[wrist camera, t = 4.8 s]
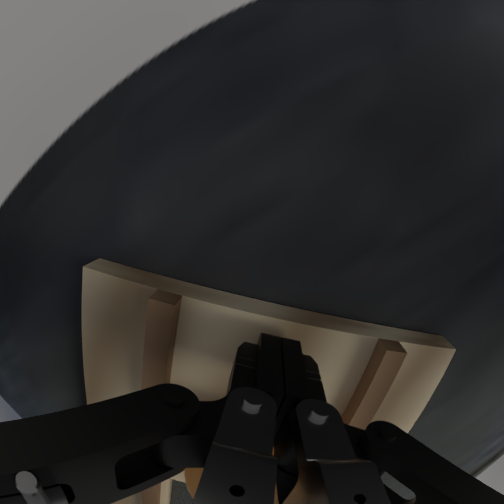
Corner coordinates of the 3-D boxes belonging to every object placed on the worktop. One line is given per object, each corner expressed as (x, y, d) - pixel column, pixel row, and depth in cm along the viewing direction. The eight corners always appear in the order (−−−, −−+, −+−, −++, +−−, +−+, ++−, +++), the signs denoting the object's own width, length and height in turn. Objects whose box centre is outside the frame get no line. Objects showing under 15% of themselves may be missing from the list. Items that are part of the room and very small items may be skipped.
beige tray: (442, 335, 13) (477, 370, 9) (304, 534, 18) (305, 564, 14) (99, 258, 13) (55, 280, 9) (113, 496, 18) (101, 524, 14)
